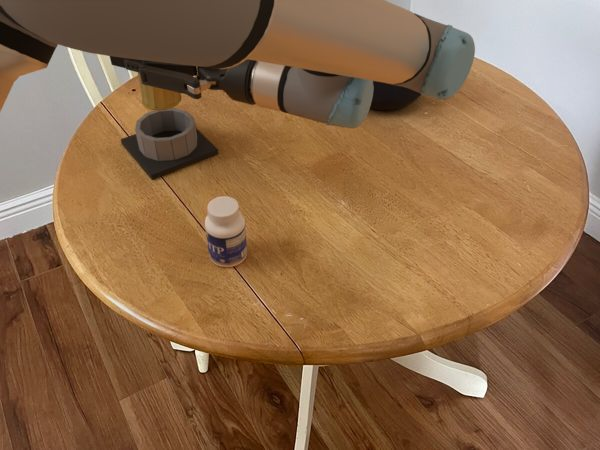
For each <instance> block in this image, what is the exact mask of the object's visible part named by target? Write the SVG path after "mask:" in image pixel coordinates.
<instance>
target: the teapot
mask: <svg viewBox="0 0 600 450" xmlns="http://www.w3.org/2000/svg"><path fill="white" fill-rule="evenodd" d="M373 85H374V90H373V97H372V102H371V106H370V110H376V111H394V110H400V109H403V108H405V107H407V106H408V105H410V104H412V103H414V102H416V100H418V99H419V98H420V97H421V96H422V95H421V94H420V93H419V92H416V91H414V90H411V89H409V88H406V87H402V86H396V85H391V84H387V83H383V82H377V81H373Z"/></svg>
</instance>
